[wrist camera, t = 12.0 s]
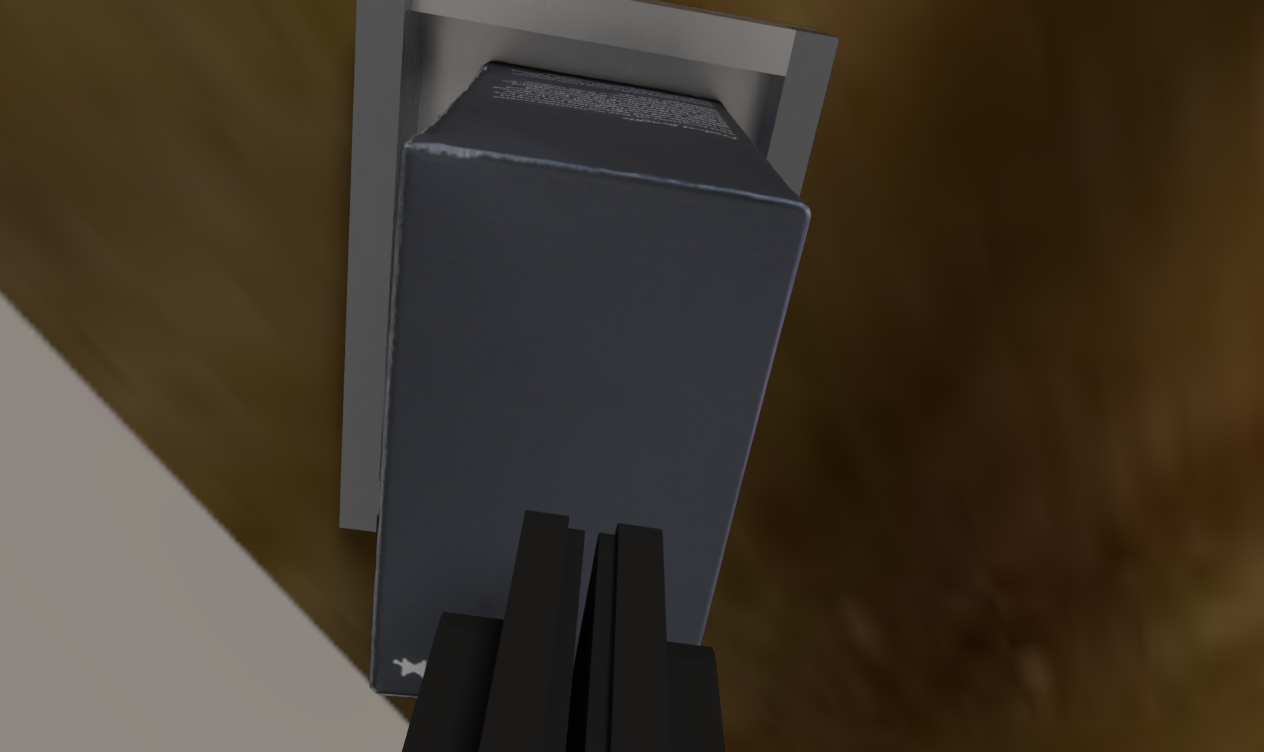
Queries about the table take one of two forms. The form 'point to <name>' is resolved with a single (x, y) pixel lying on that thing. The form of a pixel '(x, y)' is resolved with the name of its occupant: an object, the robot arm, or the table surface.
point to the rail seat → (558, 41)
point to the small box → (571, 342)
